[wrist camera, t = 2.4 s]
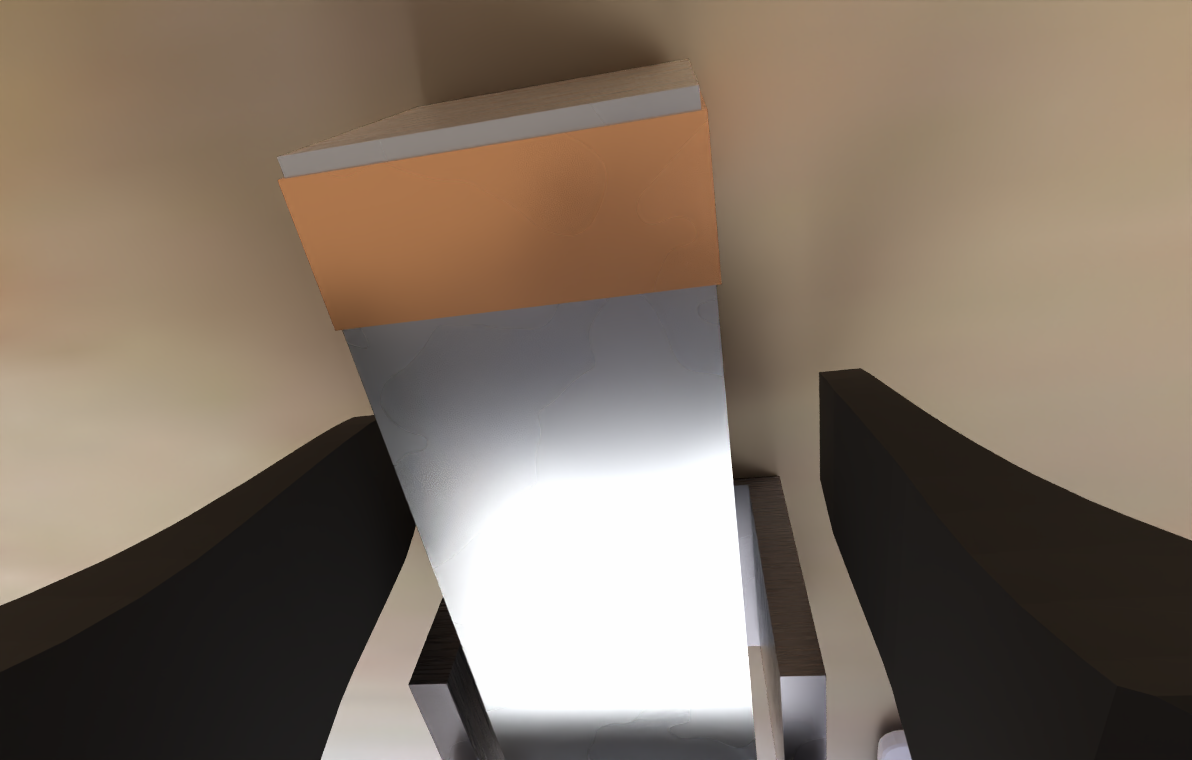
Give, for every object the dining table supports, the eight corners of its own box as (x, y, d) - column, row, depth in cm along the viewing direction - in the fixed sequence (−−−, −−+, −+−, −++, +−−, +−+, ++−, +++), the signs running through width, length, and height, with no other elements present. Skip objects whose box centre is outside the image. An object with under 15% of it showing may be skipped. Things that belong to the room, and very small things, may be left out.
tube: (744, 647, 15) (767, 851, 11) (565, 653, 15) (533, 846, 12) (692, 57, 9) (704, 84, 6) (415, 106, 10) (269, 159, 6)
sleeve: (786, 637, 15) (840, 928, 10) (528, 645, 16) (467, 913, 11) (779, 476, 13) (842, 747, 8) (481, 497, 14) (382, 749, 9)
